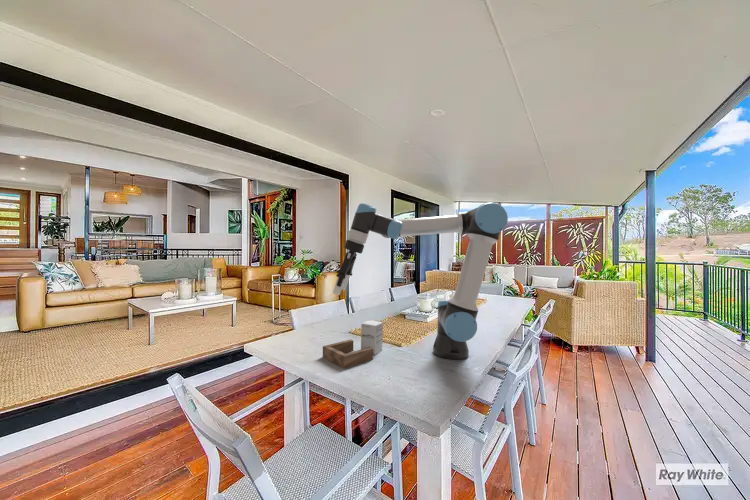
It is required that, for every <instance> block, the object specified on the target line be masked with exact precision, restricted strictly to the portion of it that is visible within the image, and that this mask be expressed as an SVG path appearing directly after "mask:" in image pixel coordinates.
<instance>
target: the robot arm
mask: <svg viewBox="0 0 750 500" xmlns="http://www.w3.org/2000/svg"><path fill="white" fill-rule="evenodd" d="M508 221H509V217H508V212H507V211H506V209H505V208H504V207H503V206H502V205H501V204H498V203H496V202H485V203H482V204H480V205H479V206H478V207H476V208H473V209H471V210H468V211H462V212H461V211H460V212H458V213H457V214H454V215H453V214H452V215H443V216H442V215H440V216H429V217H418V218H417V217H415V218H404V219H403V218H402V219H401V218H400V219H396V218H392V217H389V216H385V215H383V214H379V213H378V212H377V208H376V207H374V206H373V205H370V204H367V203H359V204H358V206H357V209H356V211H355V213H354V217H353V219H352V223H351V226H350V230H347V233H348V235H347V238H348V239H347V240H346V241H345V244H344V246H343V247H344V249H346V250H348V251H347V252H346V253H345V257H344V260H343V261H342V264H341V267H340V269H339V271H338V273H337V274H336V276H335V277H337V279H336V282H335V285H334V288H333V291H332V294H335V295H338V296H341V292H342V290H343V291H346V288H347V286H348V284H349V280H350V276H353V269H354V266H355V265H354V264H355V262H356V260H357V255H358V254H363V252H364V249H365V245H364V244H366V242H367V240H368V237H369V232H372V233H376V234H378V235H381V236H382V237H383V238H386V239H393V240H394V239H395V240H397V239H399V237H410V236H424V235H425V236H426V235H436V234H437V235H439V234H454V233H458V235H467V237H468V239H469V241H468V245H467V248H466V252H465V255H464V259H463V263H462V266H461V270H460V273H459V276H458V281H457V283H456V286H455V287H456V288H455V292H454V295H453V297H452V298H450V299H449V300H439V301H438V303H437V334H436V338H435V339H434V343H433V344H432V345H433V346H432V352H433V354H434V355H436V356H438V357H440V358H443V359H444V358H445V359H448V360H449V359H450V360H462V359H466V358H468V357H469V356H470V355H469V346H468V343H467V341H470V340H471V339H473V338H474V337H475V336H476V334H477V331H478V323H477V316H478V314H479V313H478V312H479V308H478V306H477V302H478V301H477V300H478V298H479V295H480V294H479V293H480V290H481V287H482V283H483V281H484V276H485V273H486V269H487V266H488V262H489V258H490V255H491V252H492V248H493V245H495V244H496V243H498V241H499V239H500V235H501V233H502V231H503V230H504V229H505V228H506V226H507V224H508ZM357 253H358V254H357ZM467 356H468V357H467Z"/></svg>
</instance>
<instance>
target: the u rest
mask: <svg viewBox="0 0 750 500" xmlns="http://www.w3.org/2000/svg"><path fill="white" fill-rule="evenodd" d="M322 358H324V359H326V360H327V361H329V362H331V363H333V364H334V365H337V366H339V367H341V368H343V369H345V370H346V368H347V369H348V368H350V367H353V366H356V365H359V364H363V363H366V362H368V361H372V360H374V354H373V348H371V347H368V348H365V349H361V348H360V349H358V350H355V351H354V340H353V339H351V338H350V339H346V340H343V341H337V342H335V343H331V344H326V345H323V346H322Z"/></svg>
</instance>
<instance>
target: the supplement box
mask: <svg viewBox="0 0 750 500" xmlns="http://www.w3.org/2000/svg"><path fill="white" fill-rule="evenodd" d="M360 327H361V328H360V329H361V333H360V334H361V336H360V350H361V349H365V348H368V347H371V348H373V356H374V355H377V354H378V353H380V352H382V351H383V339H384V338H383V336H384V335H383V334H384V333H383V330H384V322H383V321H377V320H366V321H364V322H362V323H361V326H360Z"/></svg>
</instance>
